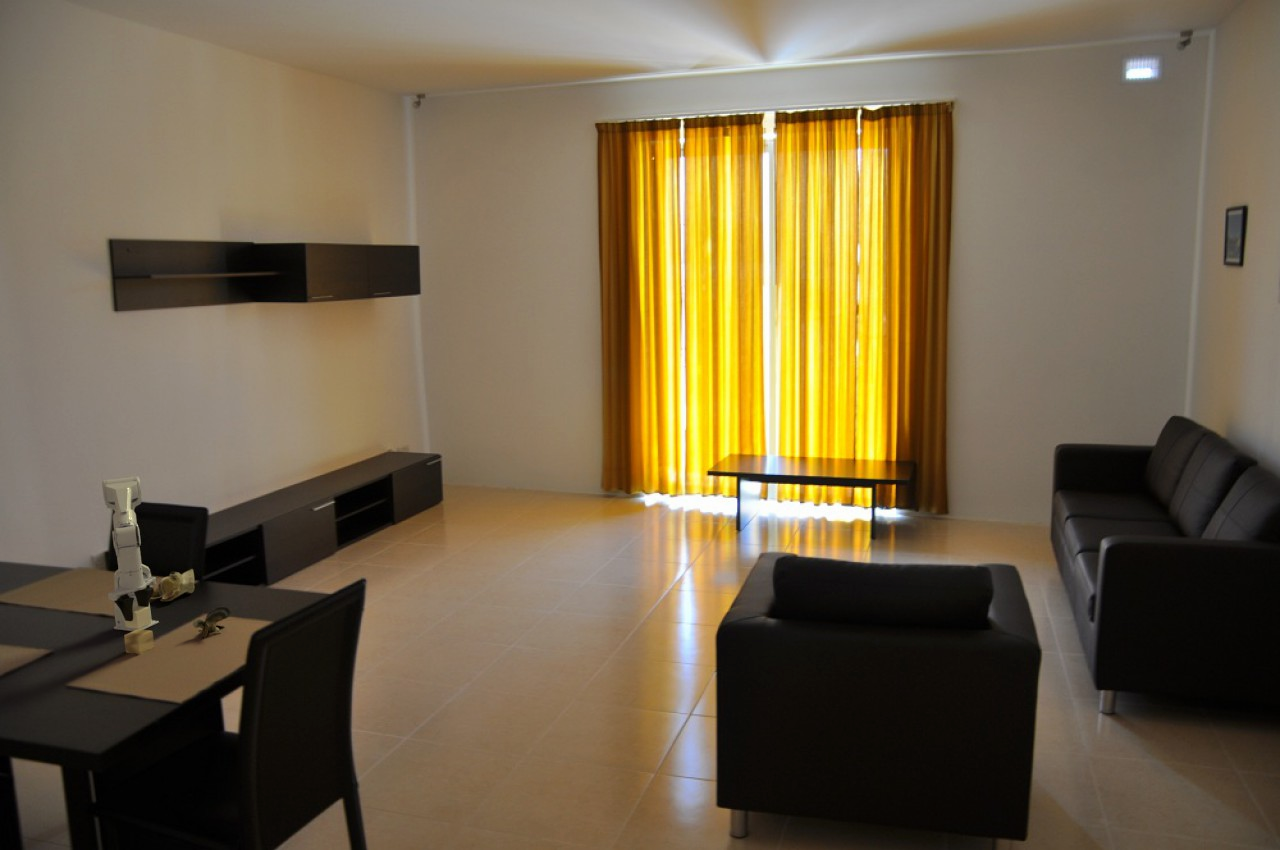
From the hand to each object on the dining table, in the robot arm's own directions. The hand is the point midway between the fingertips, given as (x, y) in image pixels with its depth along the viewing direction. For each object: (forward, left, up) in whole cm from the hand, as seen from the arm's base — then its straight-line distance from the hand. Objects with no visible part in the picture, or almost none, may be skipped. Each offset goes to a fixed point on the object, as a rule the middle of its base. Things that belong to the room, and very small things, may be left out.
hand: (136, 617), depth 286 cm
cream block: (0, 0, -2) cm, 2 cm away
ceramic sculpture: (-25, +38, -10) cm, 46 cm away
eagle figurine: (+11, +16, -10) cm, 22 cm away
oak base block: (0, 0, -10) cm, 10 cm away
